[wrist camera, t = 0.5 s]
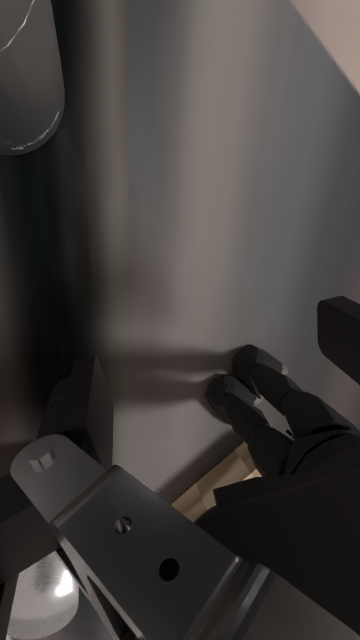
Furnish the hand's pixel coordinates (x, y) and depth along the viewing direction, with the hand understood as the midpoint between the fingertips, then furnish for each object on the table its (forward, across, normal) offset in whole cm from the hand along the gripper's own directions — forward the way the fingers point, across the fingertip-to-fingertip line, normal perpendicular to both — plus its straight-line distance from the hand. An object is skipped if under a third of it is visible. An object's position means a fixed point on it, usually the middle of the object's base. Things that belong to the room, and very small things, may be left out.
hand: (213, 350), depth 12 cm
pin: (+17, +14, +17) cm, 28 cm away
